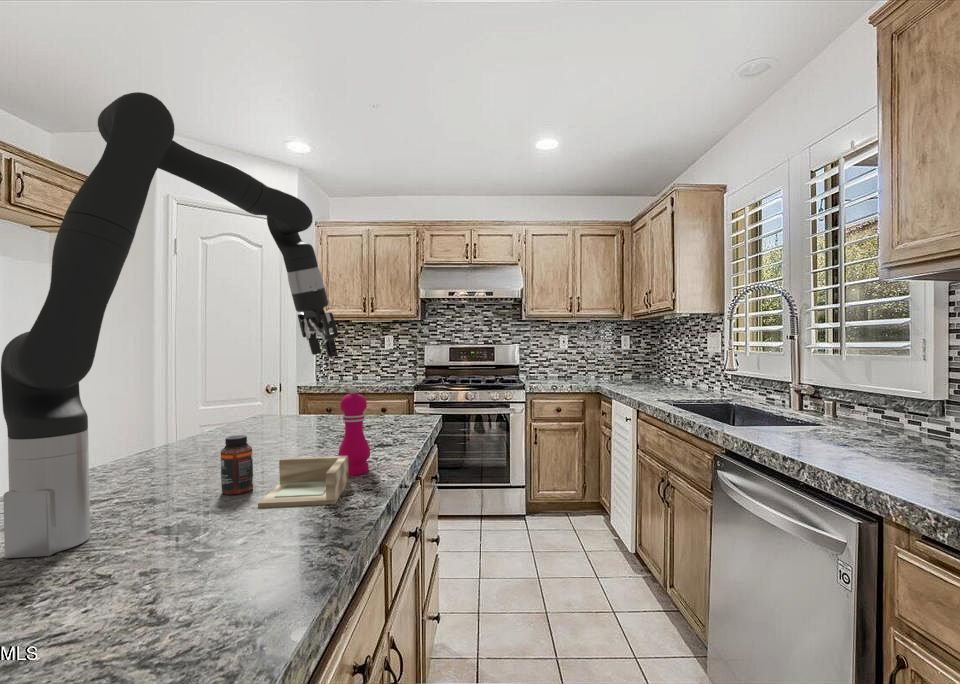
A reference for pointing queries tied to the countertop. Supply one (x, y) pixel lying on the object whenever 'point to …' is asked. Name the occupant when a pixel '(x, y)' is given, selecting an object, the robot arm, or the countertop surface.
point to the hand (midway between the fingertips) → (324, 354)
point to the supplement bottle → (236, 466)
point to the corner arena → (308, 481)
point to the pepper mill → (354, 433)
